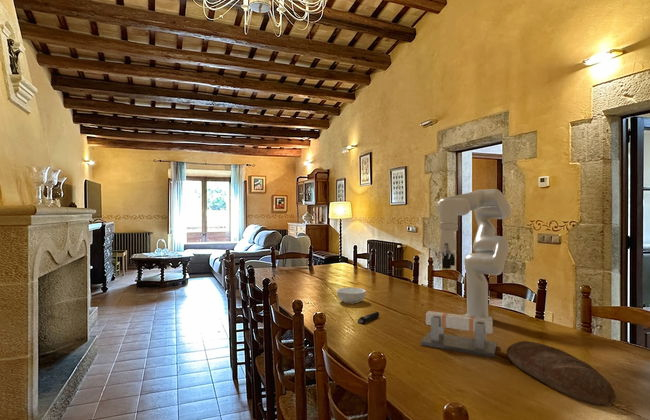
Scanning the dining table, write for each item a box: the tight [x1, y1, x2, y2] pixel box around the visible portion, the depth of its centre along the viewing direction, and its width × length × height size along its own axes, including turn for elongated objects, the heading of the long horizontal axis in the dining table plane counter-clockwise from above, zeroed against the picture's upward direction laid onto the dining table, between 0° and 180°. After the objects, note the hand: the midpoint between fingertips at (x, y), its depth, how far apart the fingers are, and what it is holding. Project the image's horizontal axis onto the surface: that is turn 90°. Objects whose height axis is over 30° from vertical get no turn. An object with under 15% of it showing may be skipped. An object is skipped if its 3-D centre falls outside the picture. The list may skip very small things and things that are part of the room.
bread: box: [506, 340, 617, 406], centre depth 114 cm, size 16×36×8 cm, turn 11°
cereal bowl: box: [336, 287, 367, 305], centre depth 211 cm, size 17×17×7 cm
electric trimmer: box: [357, 311, 380, 325], centre depth 176 cm, size 4×16×3 cm, turn 139°
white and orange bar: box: [425, 310, 494, 335], centre depth 142 cm, size 24×5×5 cm, turn 61°
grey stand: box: [420, 317, 498, 359], centre depth 141 cm, size 13×26×10 cm, turn 61°
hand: (448, 266), depth 157 cm, fingers open, 9 cm apart
